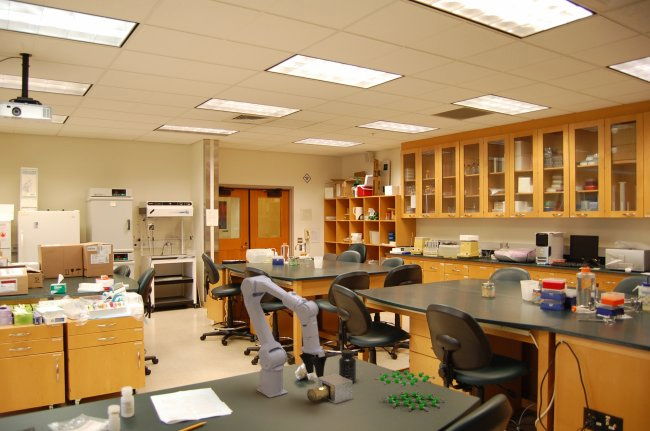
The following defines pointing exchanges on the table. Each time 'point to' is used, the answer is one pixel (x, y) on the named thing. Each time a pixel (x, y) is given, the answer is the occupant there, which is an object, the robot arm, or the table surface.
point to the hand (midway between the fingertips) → (315, 375)
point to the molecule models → (407, 392)
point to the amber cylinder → (319, 393)
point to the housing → (337, 387)
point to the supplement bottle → (347, 365)
